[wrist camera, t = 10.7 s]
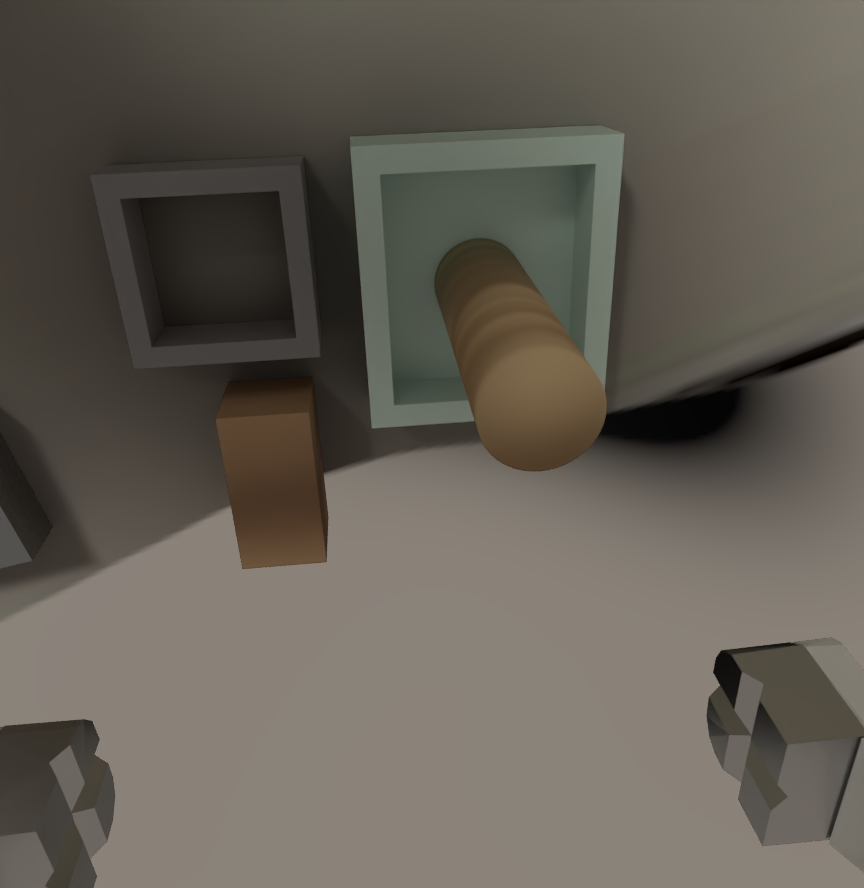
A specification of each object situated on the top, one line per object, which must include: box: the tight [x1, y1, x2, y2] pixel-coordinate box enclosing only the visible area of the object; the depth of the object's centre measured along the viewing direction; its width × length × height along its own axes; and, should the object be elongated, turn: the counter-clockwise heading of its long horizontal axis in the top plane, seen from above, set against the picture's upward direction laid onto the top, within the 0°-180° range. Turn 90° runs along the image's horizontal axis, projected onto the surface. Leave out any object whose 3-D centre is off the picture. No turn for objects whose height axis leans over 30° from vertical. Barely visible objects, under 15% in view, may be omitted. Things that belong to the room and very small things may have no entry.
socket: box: [90, 156, 322, 369], centre depth 25 cm, size 6×6×2 cm
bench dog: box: [215, 377, 328, 569], centre depth 28 cm, size 6×3×3 cm, turn 2°
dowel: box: [434, 238, 607, 471], centre depth 22 cm, size 3×3×10 cm
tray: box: [350, 125, 625, 428], centre depth 26 cm, size 9×8×2 cm
